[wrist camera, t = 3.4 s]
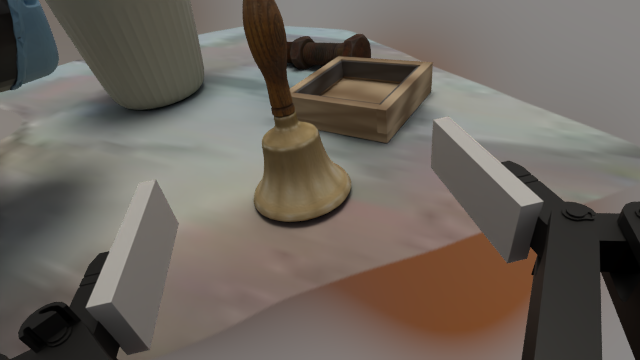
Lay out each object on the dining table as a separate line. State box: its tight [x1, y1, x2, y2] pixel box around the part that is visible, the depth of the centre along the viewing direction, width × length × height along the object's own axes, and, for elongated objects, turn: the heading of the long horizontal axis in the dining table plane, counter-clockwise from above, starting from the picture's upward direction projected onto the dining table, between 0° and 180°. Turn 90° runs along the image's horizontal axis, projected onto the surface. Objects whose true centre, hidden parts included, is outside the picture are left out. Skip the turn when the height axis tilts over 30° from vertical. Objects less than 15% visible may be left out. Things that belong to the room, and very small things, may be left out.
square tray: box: [290, 56, 433, 143], centre depth 41 cm, size 12×12×4 cm
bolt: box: [287, 34, 371, 69], centre depth 53 cm, size 6×5×15 cm
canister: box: [45, 0, 204, 110], centre depth 48 cm, size 18×18×21 cm
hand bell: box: [243, 0, 351, 222], centre depth 26 cm, size 8×8×16 cm
